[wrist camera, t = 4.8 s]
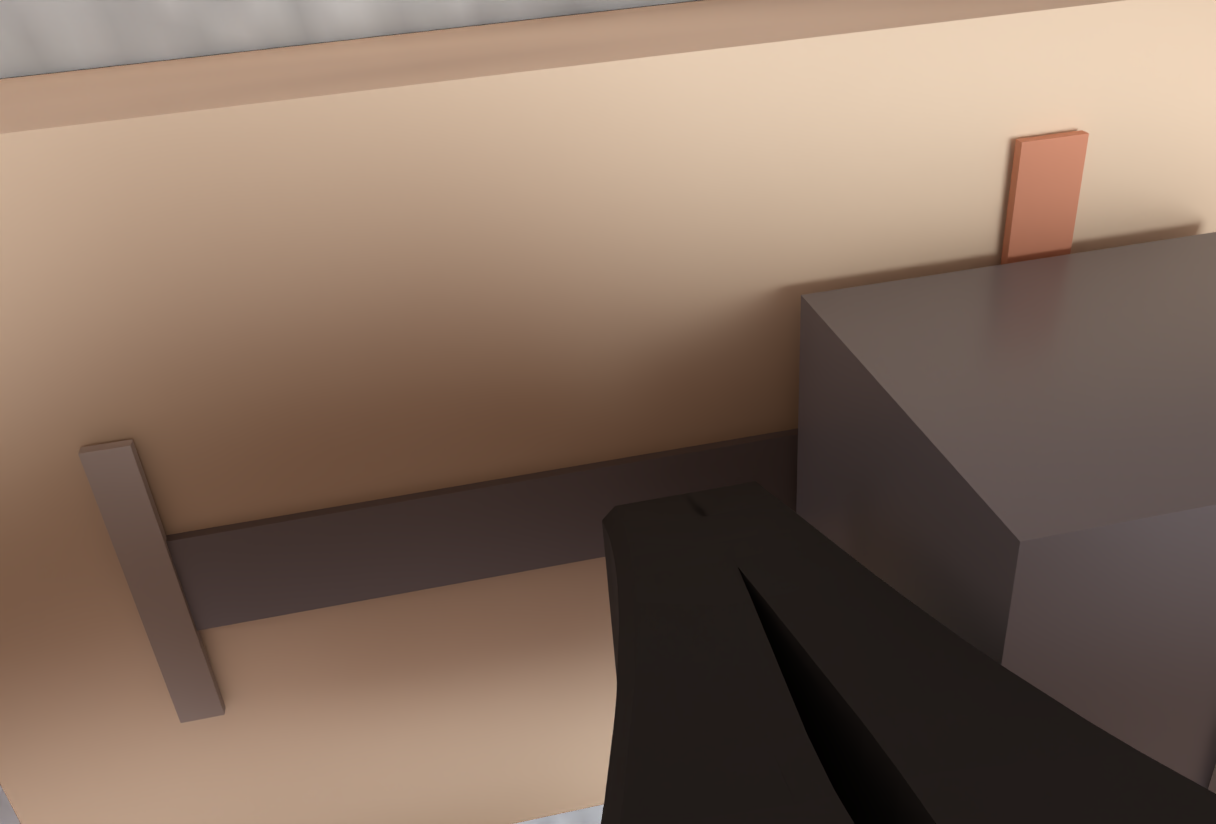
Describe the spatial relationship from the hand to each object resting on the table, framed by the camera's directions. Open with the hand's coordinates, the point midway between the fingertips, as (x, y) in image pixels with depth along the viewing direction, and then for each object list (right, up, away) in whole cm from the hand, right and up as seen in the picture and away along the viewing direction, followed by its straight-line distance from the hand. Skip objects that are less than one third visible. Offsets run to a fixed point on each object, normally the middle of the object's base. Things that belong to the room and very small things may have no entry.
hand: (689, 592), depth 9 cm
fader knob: (+3, +1, +1) cm, 3 cm away
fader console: (0, +2, +3) cm, 3 cm away
